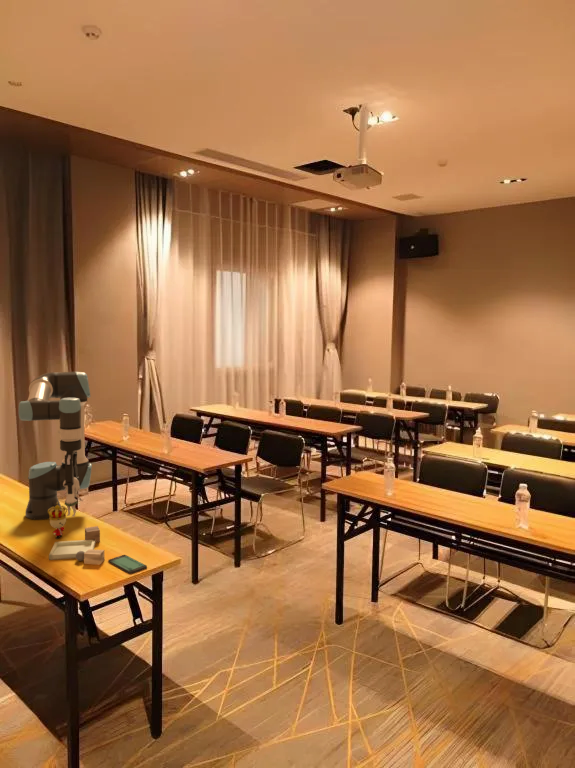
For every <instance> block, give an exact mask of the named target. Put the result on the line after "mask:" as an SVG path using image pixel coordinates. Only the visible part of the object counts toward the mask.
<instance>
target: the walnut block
mask: <svg viewBox="0 0 575 768" xmlns="http://www.w3.org/2000/svg"><path fill="white" fill-rule="evenodd" d="M94 539H95V544H96V543H101V530H100V528H99V526H98V525H95V526H88V527H84V540H94Z"/></svg>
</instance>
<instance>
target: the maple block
mask: <svg viewBox="0 0 575 768" xmlns="http://www.w3.org/2000/svg"><path fill="white" fill-rule="evenodd" d="M105 559H106V557H105V549H95V548H94V549H88V550H87V551H86V552H85V553H84V560H83V562H84V563H83V564H85V565H98V566H99V565H101V564H103V562H104V561H105Z"/></svg>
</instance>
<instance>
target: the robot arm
mask: <svg viewBox="0 0 575 768" xmlns="http://www.w3.org/2000/svg"><path fill="white" fill-rule="evenodd" d="M28 392H29V394H28V398H27V400H25V401H24V400H23V401H20V402H19V403H18V418H19V420H20V421H21V422H22V421H23V422H26V421H28V422H31V421H32V422H33V421H53V420H54V421H58V420H59V430H58V431H57V433H58V434H59V439H60V440H59V450H60V451H61V452H62V451H63V452H64V458H63V459H62V460H61V464H59V465H58V464H57V462H56V461H44V462H40V463H37V464H34V465H32V466H30V467H29V468H28V469H29V470H28V478H27V479H28V492H29V493H28V494H29V495H28V496H29V497H28V502H27V504H26V508H25V518H27V519H30V520H34V521H35V520H38V521H39V520H48V519H49V513H48V509H50V508H51V507H53V506H54V507H55V506H56V505H57V504H58V505H59V506H60V507H61V506H62V505H61V503H60V500H59V497H58V492H63V491H64V492H66V495H67V496H66V499H67V502H74V501H75V499H76V497H75V496H74V477H75V478H77V479H78V481H79V486H80V489H79V490H85V489H88V488H89V487H90V483H91V478H92V476H91V475H92V467H93V464H92V463H91V462H89V458H87V456H86V452H85V451H86V449H85V448H86V447H85V446H86V445H85V442H86V441H85V404H86V403H88V398H89V399H90V398H91V391H90V384H89V378H88V374H87V373H86V372H84V371H83V372H82V371H58V372H57V371H56V372H54V371H52V372H46V373H43V374H41V375H38V376H37V377H36V378H34V379H32V381H31V382H30V384H29V387H28ZM50 399H54V400H50ZM55 399H56V400H55ZM64 481H65V484H64V486H66V491H65V487H64V486H63V483H64ZM75 493H76V494H78V492H77V491H76V492H75ZM57 502H59V503H57ZM61 508H62V507H61ZM61 508H60V509H61ZM53 509H55V508H53ZM49 511H50V510H49ZM60 511H61V510H60ZM53 512H55V510H54V511H53ZM49 520H50V519H49Z"/></svg>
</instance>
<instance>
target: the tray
mask: <svg viewBox="0 0 575 768" xmlns="http://www.w3.org/2000/svg"><path fill="white" fill-rule="evenodd" d="M95 546H96V543H95V539H94V540H85V539H80V540H64V541H62V540H61V541H55V542H54V544H53V545H52V548H51V550H50V552H49V554H48V560H49V561H51V560H55V561H56V560H68V559H76V554H77V553H78V552H79V551H83V552H86V551H87V550H88V549H94V550H95Z"/></svg>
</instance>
